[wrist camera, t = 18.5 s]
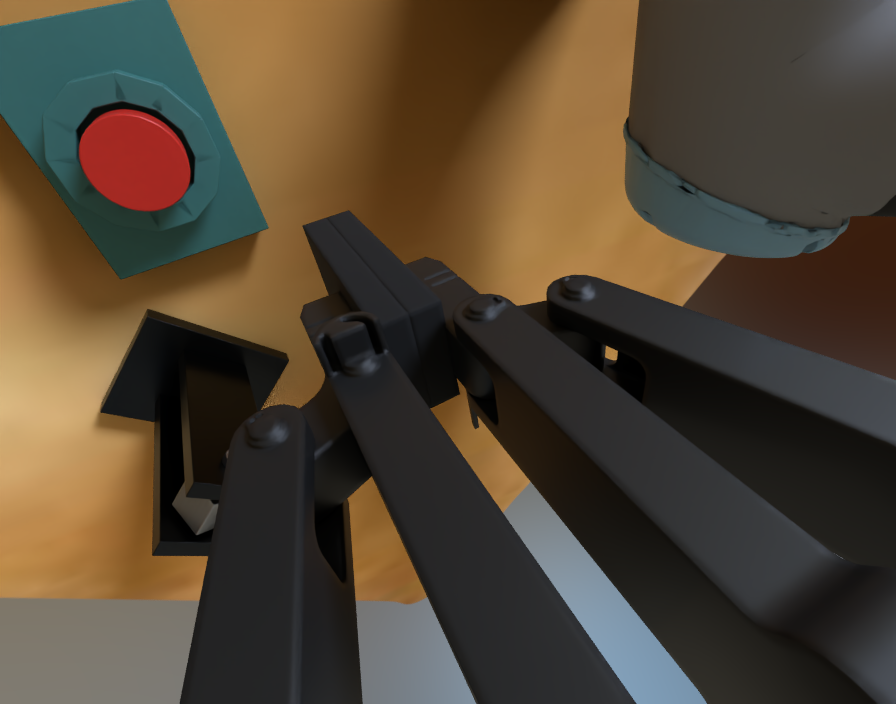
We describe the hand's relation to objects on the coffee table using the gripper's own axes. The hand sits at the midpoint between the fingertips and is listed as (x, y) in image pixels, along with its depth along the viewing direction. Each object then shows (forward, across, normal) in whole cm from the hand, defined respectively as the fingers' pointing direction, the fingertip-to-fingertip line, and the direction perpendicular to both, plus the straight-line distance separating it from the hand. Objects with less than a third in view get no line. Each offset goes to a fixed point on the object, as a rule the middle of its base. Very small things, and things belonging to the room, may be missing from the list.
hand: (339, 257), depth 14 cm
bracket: (+19, -10, -14) cm, 26 cm away
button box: (+19, -6, +2) cm, 20 cm away
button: (+15, -6, +2) cm, 16 cm away
